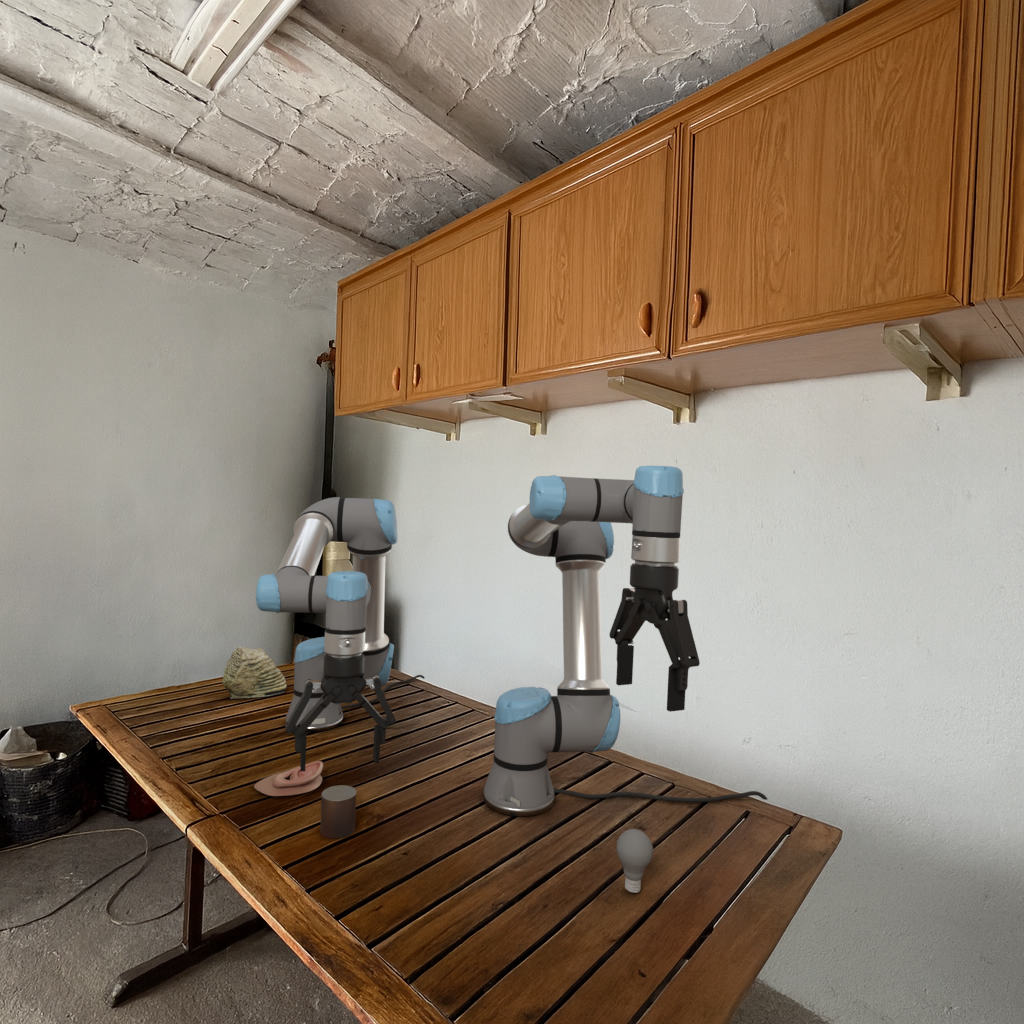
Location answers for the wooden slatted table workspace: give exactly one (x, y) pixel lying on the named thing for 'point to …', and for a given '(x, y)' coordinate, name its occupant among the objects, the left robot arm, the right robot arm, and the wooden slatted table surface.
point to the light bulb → (634, 857)
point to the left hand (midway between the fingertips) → (340, 764)
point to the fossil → (252, 674)
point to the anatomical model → (292, 781)
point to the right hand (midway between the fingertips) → (648, 696)
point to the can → (338, 811)
